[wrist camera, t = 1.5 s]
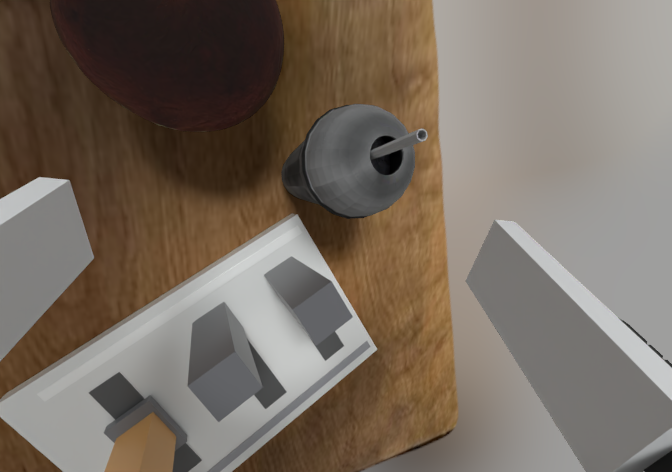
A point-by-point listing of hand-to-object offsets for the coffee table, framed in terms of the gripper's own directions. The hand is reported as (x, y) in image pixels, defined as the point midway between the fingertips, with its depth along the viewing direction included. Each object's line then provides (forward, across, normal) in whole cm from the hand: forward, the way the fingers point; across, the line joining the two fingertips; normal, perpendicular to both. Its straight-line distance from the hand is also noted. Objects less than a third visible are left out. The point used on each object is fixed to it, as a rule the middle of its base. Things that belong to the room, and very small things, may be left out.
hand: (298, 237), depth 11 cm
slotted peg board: (+11, -6, -22) cm, 25 cm away
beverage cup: (+21, +1, -6) cm, 22 cm away
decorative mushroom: (+22, -10, 0) cm, 24 cm away
